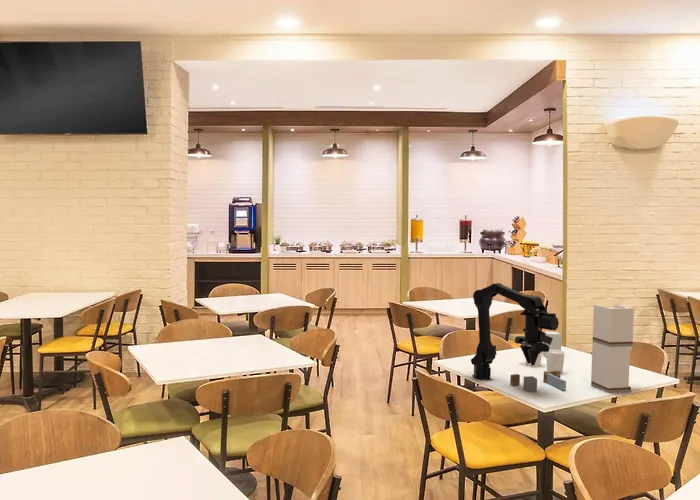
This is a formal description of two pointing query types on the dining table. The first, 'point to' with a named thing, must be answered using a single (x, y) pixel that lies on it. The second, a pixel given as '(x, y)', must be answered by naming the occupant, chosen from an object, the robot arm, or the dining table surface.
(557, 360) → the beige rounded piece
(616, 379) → the striped white pillar
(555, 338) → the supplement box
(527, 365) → the foam cup
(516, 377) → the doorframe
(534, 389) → the block
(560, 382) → the door
